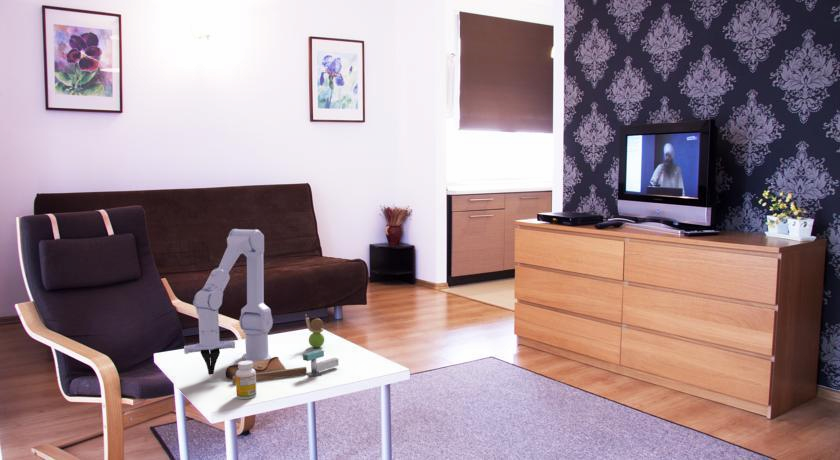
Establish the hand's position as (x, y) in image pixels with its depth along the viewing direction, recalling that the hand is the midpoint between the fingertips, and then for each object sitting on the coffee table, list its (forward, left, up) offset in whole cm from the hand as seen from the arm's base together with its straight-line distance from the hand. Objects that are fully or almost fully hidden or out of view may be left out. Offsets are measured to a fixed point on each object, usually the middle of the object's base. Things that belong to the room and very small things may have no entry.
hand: (211, 373), depth 202 cm
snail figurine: (-21, +38, -2) cm, 43 cm away
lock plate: (+9, +30, -2) cm, 31 cm away
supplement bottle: (+20, +8, -2) cm, 21 cm away
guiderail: (+7, +17, -2) cm, 18 cm away
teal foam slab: (+8, +32, -1) cm, 33 cm away
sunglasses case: (+1, +14, -2) cm, 14 cm away
